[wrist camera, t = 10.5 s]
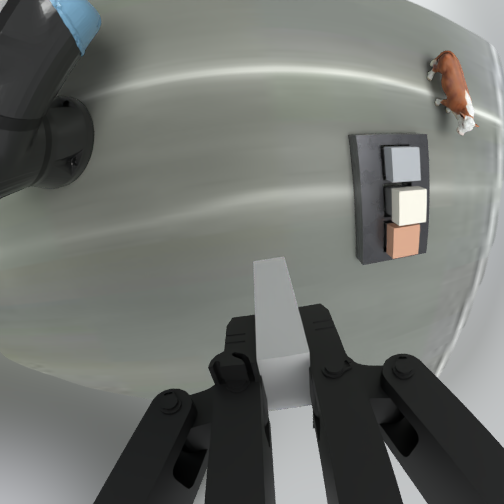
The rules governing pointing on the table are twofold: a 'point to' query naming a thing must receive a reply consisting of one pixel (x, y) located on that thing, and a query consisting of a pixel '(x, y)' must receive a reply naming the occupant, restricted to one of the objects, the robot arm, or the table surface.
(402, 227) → the tan cube
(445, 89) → the bull figurine
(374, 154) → the keypad base
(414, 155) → the grey key
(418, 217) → the cream key
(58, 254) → the table surface
